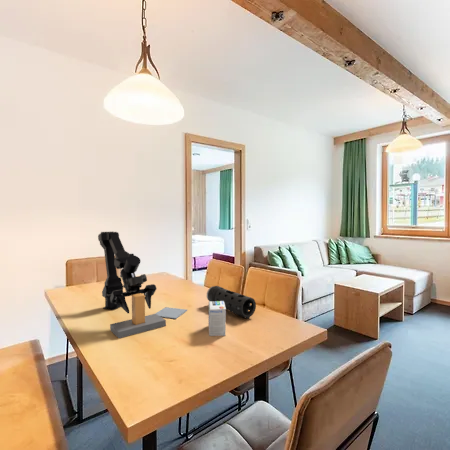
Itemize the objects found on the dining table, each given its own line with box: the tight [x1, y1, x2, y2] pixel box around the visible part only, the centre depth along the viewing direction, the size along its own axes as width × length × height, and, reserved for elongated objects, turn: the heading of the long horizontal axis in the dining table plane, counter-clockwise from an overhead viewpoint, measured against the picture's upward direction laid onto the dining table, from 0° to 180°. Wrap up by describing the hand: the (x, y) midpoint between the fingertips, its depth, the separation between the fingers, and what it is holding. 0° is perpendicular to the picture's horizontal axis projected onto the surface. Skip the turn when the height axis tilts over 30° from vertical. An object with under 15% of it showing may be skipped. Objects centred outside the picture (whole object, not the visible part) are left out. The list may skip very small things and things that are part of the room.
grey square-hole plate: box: [109, 313, 167, 339], centre depth 120 cm, size 10×20×2 cm, turn 129°
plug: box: [131, 293, 146, 325], centre depth 120 cm, size 4×4×14 cm
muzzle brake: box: [206, 285, 257, 320], centre depth 141 cm, size 10×28×10 cm, turn 39°
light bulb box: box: [208, 300, 227, 337], centre depth 118 cm, size 11×7×11 cm, turn 5°
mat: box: [154, 306, 188, 320], centre depth 138 cm, size 12×12×1 cm
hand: (139, 310), depth 119 cm, fingers open, 9 cm apart
